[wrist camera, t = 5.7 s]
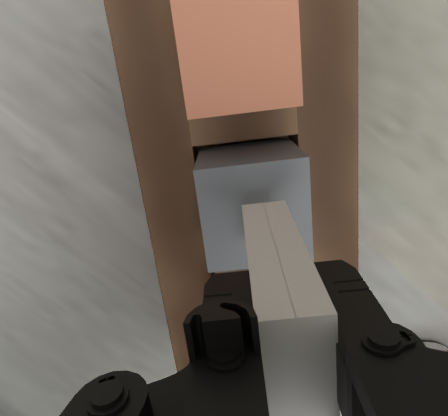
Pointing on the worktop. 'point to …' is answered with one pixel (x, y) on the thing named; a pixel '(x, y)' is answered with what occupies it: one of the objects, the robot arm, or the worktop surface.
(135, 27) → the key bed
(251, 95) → the salmon orange cube
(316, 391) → the robot arm
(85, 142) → the worktop surface
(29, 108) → the worktop surface
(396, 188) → the worktop surface
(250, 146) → the slate key
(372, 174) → the worktop surface
